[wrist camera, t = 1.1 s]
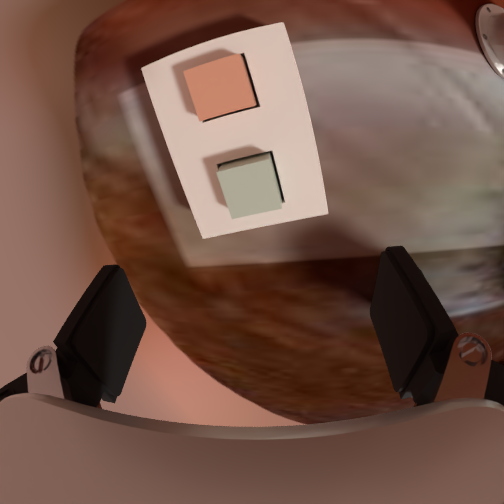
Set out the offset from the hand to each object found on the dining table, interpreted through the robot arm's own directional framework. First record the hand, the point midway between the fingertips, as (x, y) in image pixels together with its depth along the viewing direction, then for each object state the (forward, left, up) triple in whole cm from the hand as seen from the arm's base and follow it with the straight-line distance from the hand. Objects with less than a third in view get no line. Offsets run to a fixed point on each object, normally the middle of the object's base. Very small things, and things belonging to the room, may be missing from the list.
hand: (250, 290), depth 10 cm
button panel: (+2, -3, -24) cm, 24 cm away
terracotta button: (+2, -8, -20) cm, 22 cm away
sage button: (+2, +2, -20) cm, 21 cm away
